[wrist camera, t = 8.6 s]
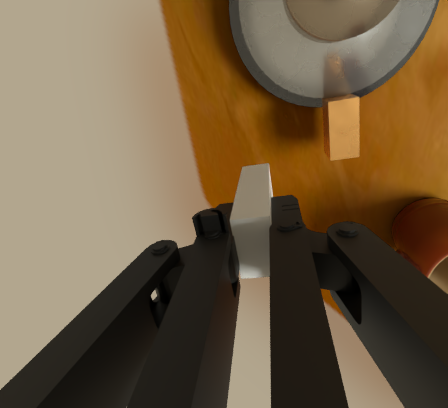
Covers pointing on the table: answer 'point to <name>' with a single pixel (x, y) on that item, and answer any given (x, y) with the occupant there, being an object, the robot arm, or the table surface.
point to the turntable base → (286, 94)
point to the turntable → (331, 61)
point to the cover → (336, 17)
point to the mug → (424, 238)
